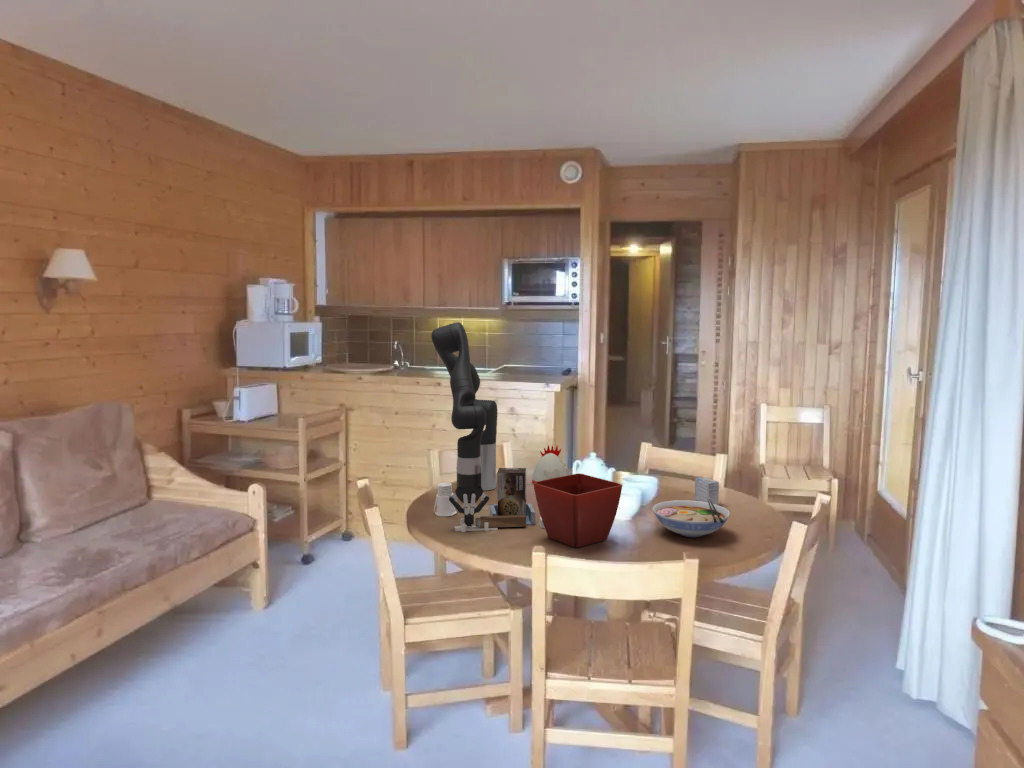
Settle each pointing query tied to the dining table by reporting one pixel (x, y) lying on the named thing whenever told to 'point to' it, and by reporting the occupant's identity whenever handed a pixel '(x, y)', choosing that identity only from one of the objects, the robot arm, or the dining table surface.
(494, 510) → the dock
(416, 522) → the dining table surface
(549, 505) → the plant pot
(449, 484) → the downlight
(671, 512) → the ramen bowl
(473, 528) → the pin mount
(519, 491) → the cookie box
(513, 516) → the lock bar
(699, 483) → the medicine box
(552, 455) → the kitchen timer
